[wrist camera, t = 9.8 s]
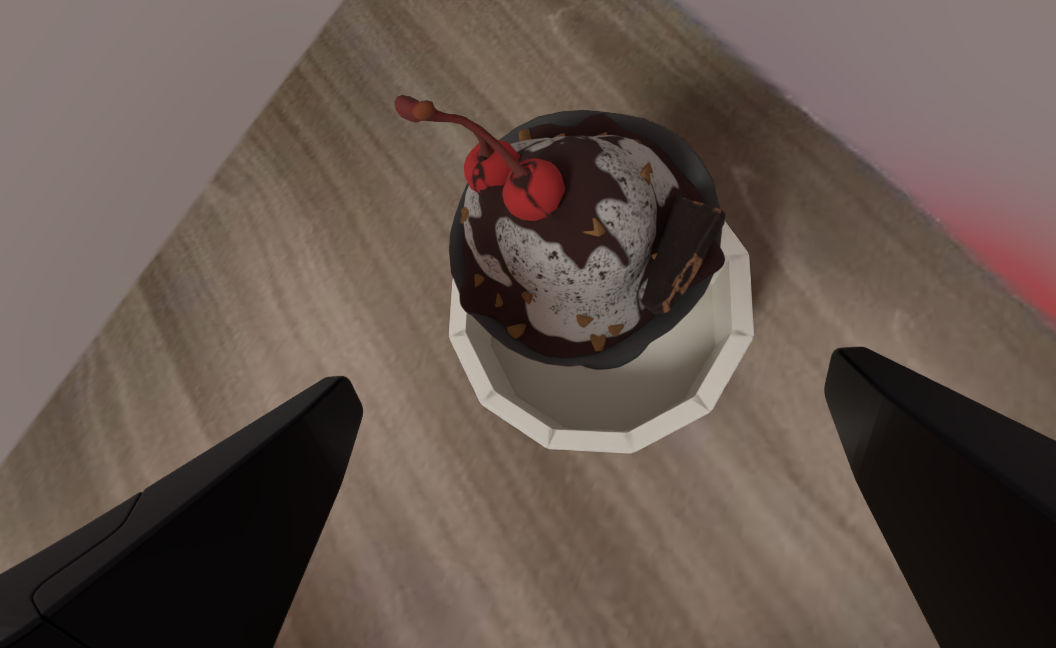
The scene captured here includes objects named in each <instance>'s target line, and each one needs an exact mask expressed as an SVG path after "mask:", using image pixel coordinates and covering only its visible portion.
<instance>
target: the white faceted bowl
mask: <svg viewBox="0 0 1056 648" xmlns="http://www.w3.org/2000/svg"><path fill="white" fill-rule="evenodd" d="M720 248H721V249H722V251H723V253H724V256H725V262H724V265H723V267H722V268H721V269H720V270H719V271H718V272H716V273H714V275H713V277H712V279H711V282H710V284H709V286H708V288H707V290H706V292H705V294H704V295H703V296H702V298H701V299H700V300H699V301H698V303H697V304H696V305H695V306H694V308H693V309H692V310H691V311H690V312H689V313H688V314H687V315H686V316H685V317H684V318H683V319H682V320H681V321H680V322H679V323H678V324H677V325H676V326H675V327H674V328H673V329H672V330H671V331H669V332H668V333H666V334H664V335H663V336H661V337H659V338H658V339H656V340H654V341H653V342H651V343H650V344H649V345H648V346H647V348H646V349H645V350H644V351H643V352H642V354H641V355H640V356H639V357H638V358H636V359H634V360H633V361H631V362H629V363H628V364H625V365H623V366H621V367H619V368H613V369H604V370H595V369H591V368H587V367H584V366H581V365H580V366H571V367H567V366H558V365H549V364H544V363H541V362H538V361H534V360H531V359H528V358H526V357H524V356H522V355H520V354H518V353H516V352H514V351H512V350H510V349H508V348H506V347H505V346H504V345H503V344H502V343H500V342H499V341H498V340H497V339H495V338H494V337H493V336H492V335H490V334H489V333H488V332H487V331H486V330H485V329H484V328H483V327H482V326H481V325H480V324H479V323H478V321H477V320H476V319H475V318H474V317H473V316H472V315H469V314H468V313H466V312H465V311H464V309H463V308H462V307H461V304H460V300H459V295H460V294H459V292H458V289H457V287H456V284H455V282H454V279H453V283H452V298H451V312H450V326H449V336H450V337H449V338H450V340H451V343H452V345H453V347H454V349H455V351H456V353H457V355H458V357H459V359H460V361H461V363H462V366H463V368H464V370H465V372H466V374H467V376H468V378H469V380H470V382H471V384H472V386H473V389H474V391H475V393H476V395H477V397H478V399H479V401H480V403H481V404H482V405H483V406H484V407H486V408H487V409H489V410H490V411H492V412H493V413H495V414H496V415H498V416H499V417H501V418H502V419H504V420H505V421H507V422H508V423H510V424H511V425H513V426H514V427H516V428H517V429H519V430H520V431H522V432H523V433H525V434H526V435H528V436H529V437H531V438H532V439H534V440H535V441H536V442H538V443H539V444H541V445H542V446H544V447H545V448H548V449H560V450H578V451H597V452H615V453H632V451H633V453H635V452H636V451H638V450H640V449H642V448H644V447H646V446H648V445H650V444H651V443H653V442H655V441H657V440H659V439H661V438H663V437H665V436H667V435H668V434H670V433H672V432H674V431H676V430H678V429H680V428H682V427H684V426H685V425H687V424H689V423H691V422H693V421H695V420H697V419H699V418H700V417H702V416H704V415H706V414H708V413H710V412H709V411H712V409H713V407H714V406H715V404H716V402H717V400H718V399H719V397H720V395H721V393H722V392H723V390H724V388H725V386H726V385H727V383H728V381H729V379H730V378H731V376H732V374H733V372H734V371H735V369H736V367H737V366H738V364H739V362H740V360H741V359H742V357H743V355H744V353H745V352H746V350H747V348H748V346H749V345H750V343H751V341H752V339H753V338H754V337H753V336H754V327H753V311H752V294H751V277H750V261H749V254H748V252H747V250H746V249H745V248H744V246H743V245H742V243H741V242H740V241H739V239H738V238H737V237H736V235H735V234H734V233H733V231H732V230H731V228H730V227H729V226H728V224H727V223H726V222H725V223H724V226H723V227H722V236H721V246H720Z"/></svg>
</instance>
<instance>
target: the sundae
mask: <svg viewBox="0 0 1056 648" xmlns="http://www.w3.org/2000/svg"><path fill="white" fill-rule="evenodd" d="M395 108H396V111H397V112H398V113H399V115H400V116H401V117H402V118H404V119H407V120H409V121H413V122H420V121H433V122H453V123H457V124H461V125H463V126H464V127H466V128H467V129H469V130H471V131H472V132H474V134H475V135H476V137H477V138H478V140H479V144H478V145H477V146H476V147H475V148H473V149H472V150H471V152H470V153H469V154H468V156H467V157H466V160H465V164H464V173H465V178H466V180H467V182H468V183H467V185H466V188H465V190H464V192H463V195H462V197H461V199H460V202H459V205H458V208H457V211H456V214H455V217H454V221H453V224H452V228H451V232H450V245H449V255H450V266H451V274H452V276H453V279H454V282H455V284H456V287H457V289H458V292H459V294H460V295H459V300H460V304H461V307H462V308H463V309H464V311H465V312H466V313H468V314H469V315H472V316H473V317H474V318H475V319H476V320H477V321H478V323H479V324H480V325H481V326H482V327H483V328H484V329H485V330H486V331H487V332H488V333H489V334H490V335H492V336H493V337H494V338H495V339H497V340H498V341H499V342H500V343H502V344H503V345H504V346H505V347H506V348H508V349H510V350H512V351H514V352H516V353H518V354H520V355H522V356H524V357H526V358H528V359H531V360H534V361H538V362H541V363H544V364H549V365H558V366H567V367H571V366H580V365H581V366H584V367H587V368H591V369H595V370H604V369H613V368H619V367H621V366H623V365H625V364H628V363H629V362H631V361H633V360H634V359H636V358H638V357H639V356H640V355H641V354H642V352H643V351H644V350H645V349H646V348H647V346H648V345H649V344H650V343H651V342H653V341H654V340H656V339H658V338H659V337H661V336H663V335H664V334H666V333H668V332H669V331H671V330H672V329H673V328H674V327H675V326H676V325H677V324H678V323H679V322H680V321H681V320H682V319H683V318H684V317H685V316H686V315H687V314H688V313H689V312H690V311H691V310H692V309H693V308H694V306H695V305H696V304H697V303H698V301H699V300H700V299H701V298H702V296H703V295H704V294H705V292H706V290H707V288H708V286H709V284H710V282H711V279H712V277H713V275H714V273H716V272H718V271H719V270H720V269H721V268H722V267H723V265H724V262H725V256H724V253H723V251H722V249H721V248H720V246H721V236H722V227H723V226H724V223H725V213H724V212H723V211H722V210H721V209H720V206H719V202H718V198H717V194H716V190H715V186H714V182H713V179H712V177H711V175H710V174H709V172H708V170H707V169H706V167H705V165H704V164H703V162H702V160H701V159H700V157H699V156H698V155H697V154H696V152H695V151H694V150H693V149H692V148H691V147H690V146H689V144H688V143H687V142H686V141H685V140H684V139H683V138H682V137H680V136H678V135H677V134H675V133H673V132H672V131H670V130H668V129H667V128H665V127H663V126H661V125H659V124H656V123H654V122H651V121H649V120H646V119H644V118H639V117H634V116H629V115H623V114H616V113H609V112H600V111H590V110H577V111H563V112H558V113H553V114H548V115H543V116H538V117H536V118H534V119H532V120H530V121H528V122H526V123H524V124H522V125H520V126H518V127H516V128H515V129H514V130H512V131H511V132H510V133H508V134H507V135H505V136H504V137H503V138H501V139H500V140H496V139H495V138H494V137H493V136H492V135H491V134H490V133H488V132H487V131H486V130H485V129H484V128H483V127H481V126H480V125H478V124H476V123H474V122H473V121H471V120H469V119H468V118H466V117H464V116H460V115H456V114H447V113H443V112H440V111H438V110H437V109H436V108H435V107H434V105H433V102H431V101H427V100H426V101H421V102H419V101H418V100H416V99H414V98H412V97H410V96H404V95H401V96H398V97H397V98H396V100H395Z"/></svg>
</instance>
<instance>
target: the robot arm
mask: <svg viewBox="0 0 1056 648" xmlns="http://www.w3.org/2000/svg"><path fill="white" fill-rule="evenodd" d="M824 392H825V398H826V402H827V404H828V407H829V410H830V412H831V415H832V418H833V421H834V423H835V426H836V429H837V432H838V434H839V437H840V440H841V443H842V445H843V448H844V451H845V454H846V456H847V459H848V462H849V464H850V467H851V470H852V472H853V475H854V477H855V480H856V482H857V484H858V486H859V488H860V491H861V493H862V495H863V497H864V499H865V501H866V503H867V505H868V507H869V509H870V511H871V513H872V514H873V516H874V518H875V520H876V522H877V524H878V526H879V528H880V530H881V532H882V534H883V536H884V538H885V540H886V542H887V544H888V546H889V548H890V550H891V552H892V554H893V556H894V558H895V560H896V562H897V564H898V566H899V568H900V570H901V572H902V573H903V575H904V577H905V579H906V581H907V583H908V585H909V587H910V589H911V591H912V593H913V595H914V597H915V599H916V601H917V603H918V605H919V607H920V609H921V611H922V613H923V615H924V617H925V619H926V621H927V623H928V625H929V627H930V629H931V630H932V632H933V634H934V636H935V638H936V640H937V642H938V644H939V646H940V648H1056V441H1055V440H1053V439H1051V438H1049V437H1047V436H1045V435H1043V434H1041V433H1039V432H1036V431H1034V430H1032V429H1030V428H1028V427H1026V426H1024V425H1022V424H1020V423H1018V422H1016V421H1014V420H1012V419H1010V418H1008V417H1006V416H1004V415H1002V414H1000V413H998V412H996V411H994V410H992V409H990V408H988V407H986V406H984V405H982V404H980V403H978V402H976V401H974V400H971V399H969V398H967V397H965V396H963V395H961V394H959V393H957V392H955V391H953V390H951V389H949V388H947V387H945V386H943V385H941V384H939V383H937V382H935V381H933V380H931V379H929V378H927V377H925V376H923V375H921V374H919V373H917V372H915V371H913V370H911V369H909V368H906V367H904V366H902V365H900V364H898V363H896V362H894V361H892V360H890V359H888V358H886V357H884V356H882V355H880V354H878V353H876V352H874V351H872V350H870V349H868V348H865V347H845V348H837V349H836V350H834V352H833V353H832V356H831V359H830V364H829V368H828V373H827V377H826V382H825V387H824ZM362 416H363V407H362V404H361V402H360V400H359V398H358V396H357V393H356V391H355V389H354V387H353V385H352V383H351V381H350V380H349V379H348V378H347V377H345V376H332V377H326V378H324V379H322V380H320V381H319V382H317V383H316V384H314V385H312V386H311V387H309V388H307V389H306V390H304V391H303V392H301V393H299V394H298V395H296V396H295V397H293V398H291V399H290V400H288V401H286V402H285V403H283V404H282V405H280V406H278V407H277V408H275V409H274V410H272V411H270V412H269V413H267V414H265V415H264V416H262V417H261V418H259V419H257V420H256V421H254V422H252V423H251V424H249V425H248V426H246V427H244V428H243V429H241V430H240V431H238V432H236V433H235V434H233V435H231V436H230V437H228V438H227V439H225V440H223V441H222V442H220V443H218V444H217V445H215V446H214V447H212V448H210V449H209V450H207V451H206V452H204V453H202V454H201V455H199V456H197V457H196V458H194V459H193V460H191V461H189V462H188V463H186V464H185V465H183V466H181V467H180V468H178V469H176V470H175V471H173V472H172V473H170V474H168V475H167V476H165V477H163V478H162V479H160V480H159V481H157V482H155V483H154V484H152V485H151V486H149V487H147V488H146V489H145V490H144V491H143V492H139V493H137V494H136V495H134V496H133V497H131V498H129V499H128V500H126V501H124V502H123V503H121V504H120V505H118V506H116V507H115V508H113V509H111V510H110V511H108V512H106V513H105V514H103V515H101V516H100V517H98V518H96V519H95V520H93V521H92V522H90V523H88V524H87V525H85V526H83V527H82V528H80V529H78V530H76V531H75V532H73V533H71V534H70V535H68V536H66V537H64V538H63V539H61V540H59V541H57V542H56V543H54V544H52V545H50V546H49V547H47V548H45V549H44V550H42V551H40V552H38V553H37V554H35V555H33V556H31V557H29V558H28V559H26V560H24V561H22V562H21V563H19V564H17V565H15V566H14V567H12V568H10V569H8V570H7V571H5V572H3V573H1V574H0V648H273V647H274V644H275V642H276V640H277V637H278V635H279V633H280V630H281V628H282V625H283V623H284V621H285V618H286V616H287V613H288V611H289V609H290V606H291V604H292V602H293V599H294V597H295V594H296V592H297V590H298V587H299V585H300V582H301V580H302V578H303V575H304V573H305V571H306V568H307V566H308V563H309V561H310V559H311V556H312V554H313V552H314V549H315V547H316V544H317V542H318V540H319V537H320V535H321V532H322V530H323V528H324V525H325V523H326V521H327V518H328V516H329V513H330V511H331V509H332V506H333V504H334V501H335V499H336V497H337V494H338V492H339V489H340V487H341V484H342V481H343V478H344V475H345V472H346V469H347V466H348V463H349V459H350V456H351V453H352V450H353V446H354V443H355V440H356V437H357V433H358V430H359V427H360V423H361V420H362Z"/></svg>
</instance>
